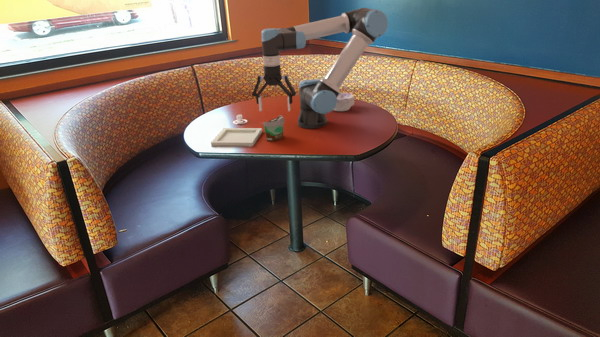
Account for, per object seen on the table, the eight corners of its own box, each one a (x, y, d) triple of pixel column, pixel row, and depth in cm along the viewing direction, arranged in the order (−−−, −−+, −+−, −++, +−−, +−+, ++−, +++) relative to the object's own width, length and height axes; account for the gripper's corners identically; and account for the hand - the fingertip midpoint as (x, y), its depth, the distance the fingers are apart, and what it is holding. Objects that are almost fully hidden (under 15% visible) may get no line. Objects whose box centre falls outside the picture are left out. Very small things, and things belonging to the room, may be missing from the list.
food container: (274, 144, 211) (272, 124, 206) (264, 142, 214) (262, 121, 210) (290, 136, 219) (289, 116, 215) (281, 134, 223) (279, 114, 219)
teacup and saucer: (242, 125, 239) (241, 118, 237) (229, 125, 242) (228, 117, 240) (250, 120, 246) (249, 113, 245) (237, 119, 249) (236, 112, 247)
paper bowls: (354, 105, 261) (354, 91, 258) (353, 113, 248) (353, 99, 244) (328, 105, 264) (328, 92, 260) (326, 113, 250) (325, 99, 247)
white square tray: (262, 131, 227) (261, 128, 226) (252, 146, 209) (252, 142, 208) (224, 131, 230) (223, 128, 230) (211, 146, 212) (210, 142, 212)
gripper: (242, 66, 201) (247, 112, 209) (298, 66, 197) (300, 112, 205) (247, 63, 207) (251, 108, 216) (300, 62, 204) (302, 108, 212)
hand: (275, 110), depth 211 cm, fingers open, 13 cm apart
